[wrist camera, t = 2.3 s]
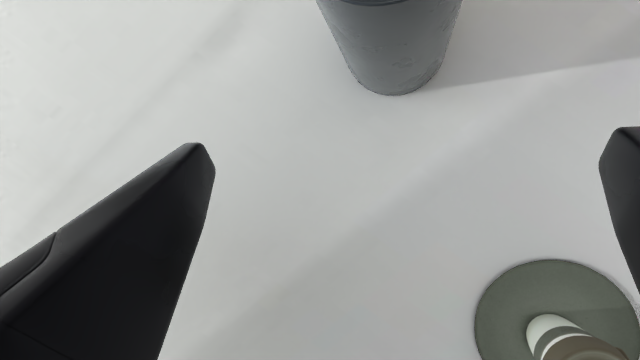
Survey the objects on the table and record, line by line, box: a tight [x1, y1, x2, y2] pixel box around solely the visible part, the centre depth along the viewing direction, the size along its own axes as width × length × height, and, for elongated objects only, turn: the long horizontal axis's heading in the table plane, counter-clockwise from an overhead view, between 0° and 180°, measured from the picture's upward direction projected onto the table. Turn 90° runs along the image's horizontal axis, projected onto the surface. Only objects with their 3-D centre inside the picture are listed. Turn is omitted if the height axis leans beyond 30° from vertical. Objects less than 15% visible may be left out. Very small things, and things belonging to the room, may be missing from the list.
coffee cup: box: [475, 260, 640, 360], centre depth 16 cm, size 12×12×5 cm
